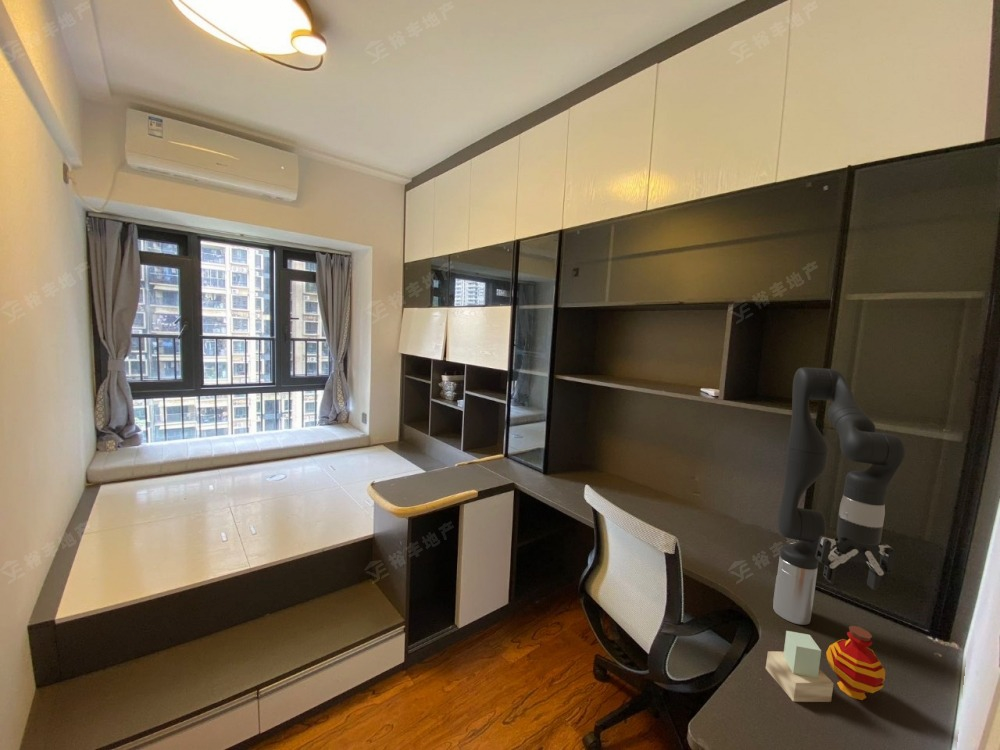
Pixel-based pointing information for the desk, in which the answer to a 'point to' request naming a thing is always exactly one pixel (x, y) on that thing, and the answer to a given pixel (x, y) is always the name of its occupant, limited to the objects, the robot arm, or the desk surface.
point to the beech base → (798, 681)
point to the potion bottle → (856, 664)
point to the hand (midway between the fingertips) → (850, 584)
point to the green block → (802, 654)
